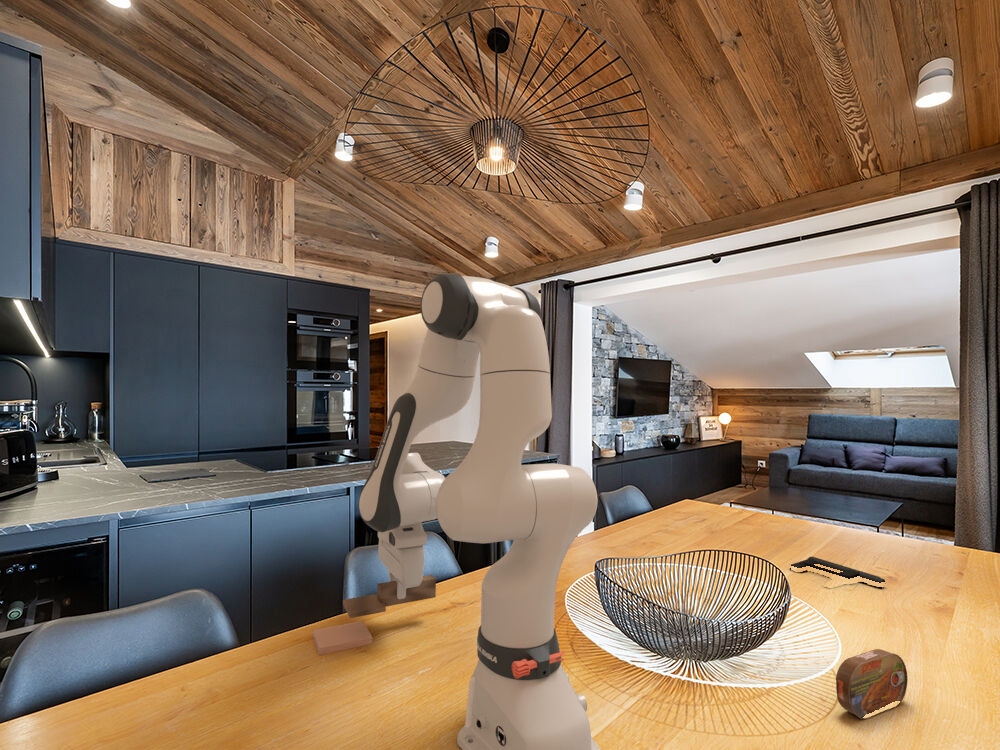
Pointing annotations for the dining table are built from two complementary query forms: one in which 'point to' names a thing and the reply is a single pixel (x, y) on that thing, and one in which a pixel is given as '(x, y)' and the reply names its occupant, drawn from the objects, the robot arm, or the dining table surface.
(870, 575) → the door handle
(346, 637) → the tile
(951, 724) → the dining table surface
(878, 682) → the tin
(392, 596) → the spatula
